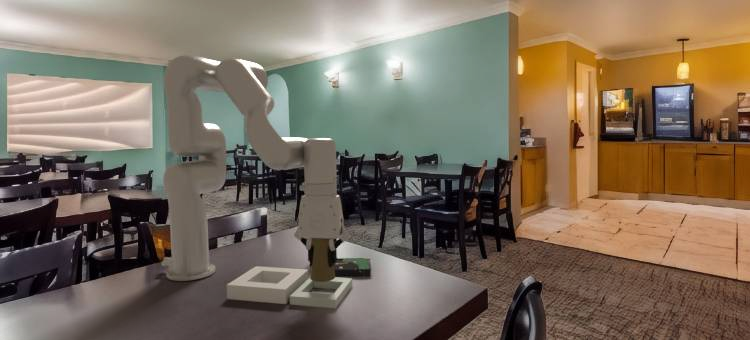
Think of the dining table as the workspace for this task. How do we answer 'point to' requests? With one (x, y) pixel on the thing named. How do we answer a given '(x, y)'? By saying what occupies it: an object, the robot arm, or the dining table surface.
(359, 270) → the disk drive
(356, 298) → the dining table surface
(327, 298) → the green square frame
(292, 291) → the beige square frame
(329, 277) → the cork
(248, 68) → the robot arm
